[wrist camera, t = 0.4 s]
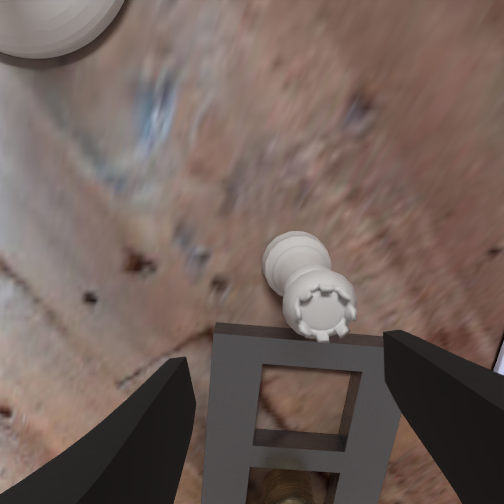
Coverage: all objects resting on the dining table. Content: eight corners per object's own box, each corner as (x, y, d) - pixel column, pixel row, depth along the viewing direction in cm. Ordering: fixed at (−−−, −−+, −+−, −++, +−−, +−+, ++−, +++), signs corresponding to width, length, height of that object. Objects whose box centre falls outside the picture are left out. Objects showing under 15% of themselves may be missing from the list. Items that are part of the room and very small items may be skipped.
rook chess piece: (317, 297, 20) (362, 372, 12) (255, 286, 19) (260, 354, 11) (334, 236, 18) (395, 273, 11) (269, 223, 18) (283, 252, 10)
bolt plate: (406, 338, 20) (455, 386, 15) (355, 536, 25) (381, 621, 20) (216, 322, 20) (205, 366, 15) (200, 527, 24) (188, 611, 20)
